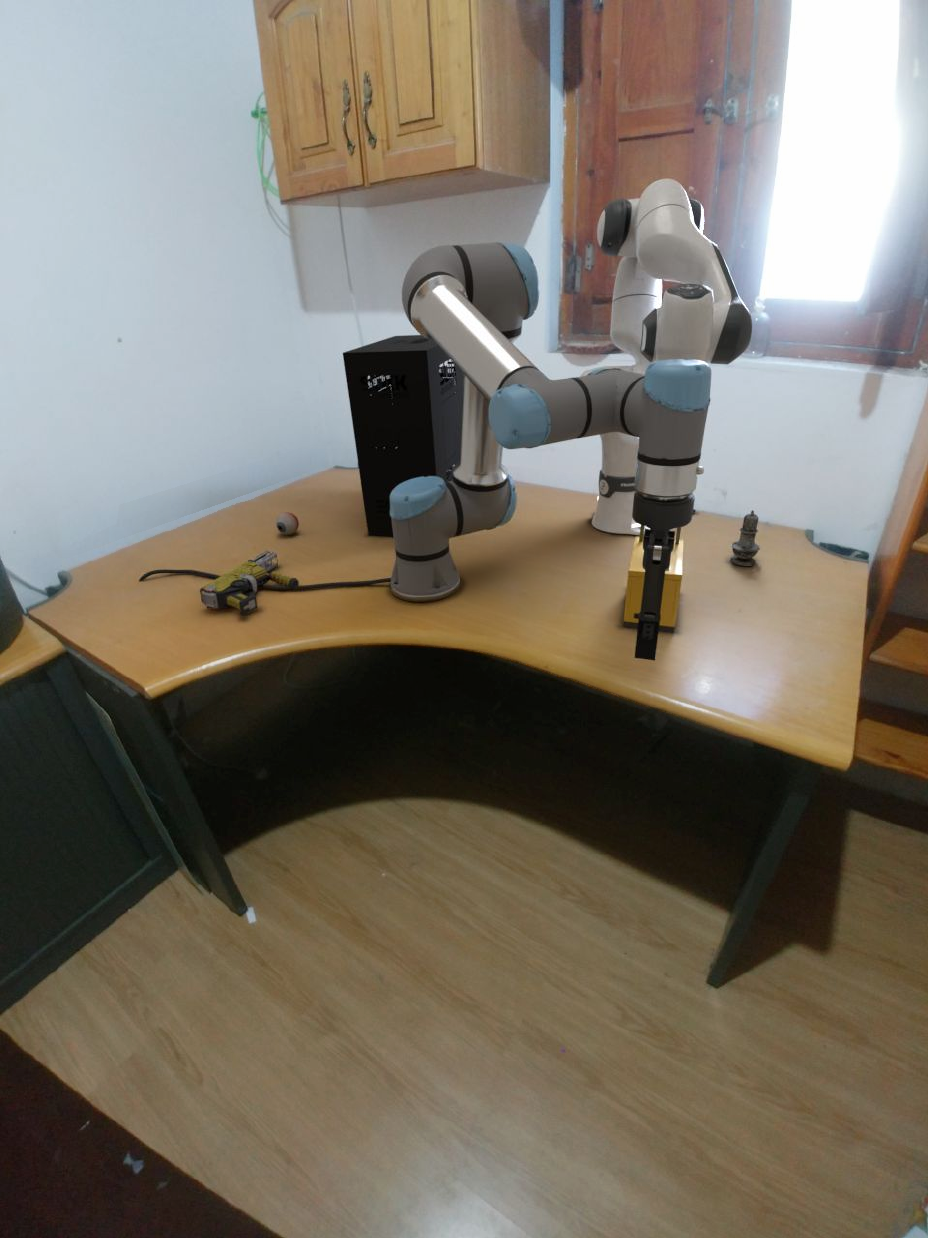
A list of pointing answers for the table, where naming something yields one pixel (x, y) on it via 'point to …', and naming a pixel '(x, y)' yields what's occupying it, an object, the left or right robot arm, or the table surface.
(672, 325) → the right robot arm
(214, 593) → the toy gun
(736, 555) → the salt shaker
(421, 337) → the cardboard box
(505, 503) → the left robot arm
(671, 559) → the lid
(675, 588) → the chest
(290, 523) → the eyeball
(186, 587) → the table surface
